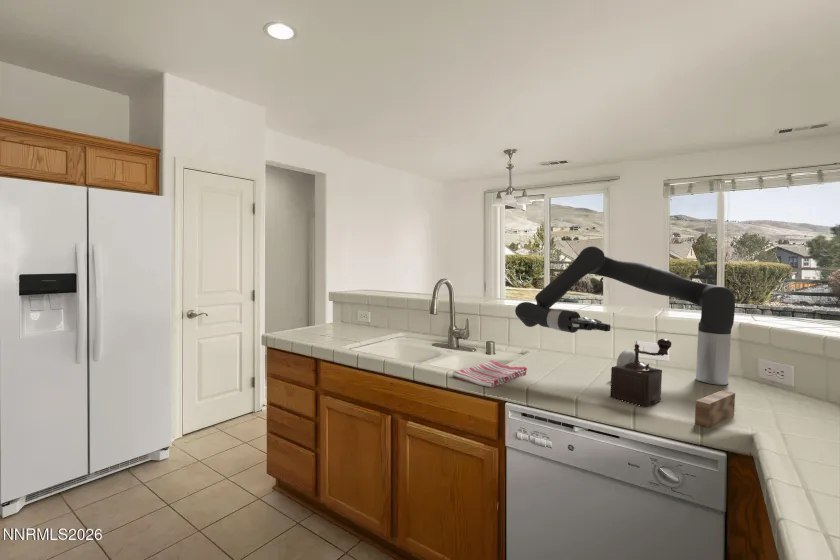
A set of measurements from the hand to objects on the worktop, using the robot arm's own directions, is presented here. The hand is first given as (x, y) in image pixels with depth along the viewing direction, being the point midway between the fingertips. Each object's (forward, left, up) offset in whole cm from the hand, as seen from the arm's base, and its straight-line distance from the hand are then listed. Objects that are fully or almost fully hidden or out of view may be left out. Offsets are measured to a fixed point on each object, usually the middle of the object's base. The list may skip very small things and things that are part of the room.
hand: (609, 328), depth 133 cm
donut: (-17, -3, -20) cm, 26 cm away
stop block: (0, +30, -20) cm, 36 cm away
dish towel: (+23, -30, -20) cm, 43 cm away
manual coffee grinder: (0, +11, -20) cm, 23 cm away
